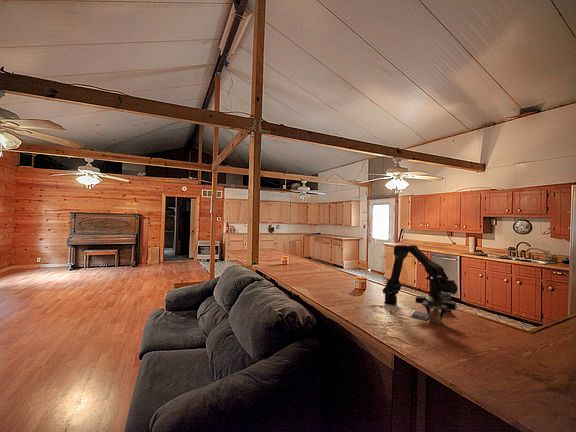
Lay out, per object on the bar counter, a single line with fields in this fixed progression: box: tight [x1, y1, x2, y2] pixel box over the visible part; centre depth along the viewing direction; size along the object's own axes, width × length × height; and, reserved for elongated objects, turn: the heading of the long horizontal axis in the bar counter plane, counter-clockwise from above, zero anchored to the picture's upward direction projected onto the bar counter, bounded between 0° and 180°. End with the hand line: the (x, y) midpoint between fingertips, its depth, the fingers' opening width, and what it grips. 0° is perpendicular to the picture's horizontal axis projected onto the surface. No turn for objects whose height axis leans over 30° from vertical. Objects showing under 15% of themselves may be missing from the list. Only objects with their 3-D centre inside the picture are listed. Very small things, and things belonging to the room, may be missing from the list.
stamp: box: [428, 307, 443, 325], centre depth 138 cm, size 5×5×8 cm
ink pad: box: [410, 310, 429, 321], centre depth 145 cm, size 8×8×1 cm
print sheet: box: [391, 306, 417, 317], centre depth 153 cm, size 10×12×1 cm
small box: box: [430, 291, 452, 313], centre depth 156 cm, size 11×6×10 cm, turn 84°
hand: (435, 318), depth 138 cm, fingers closed on stamp, 5 cm apart
